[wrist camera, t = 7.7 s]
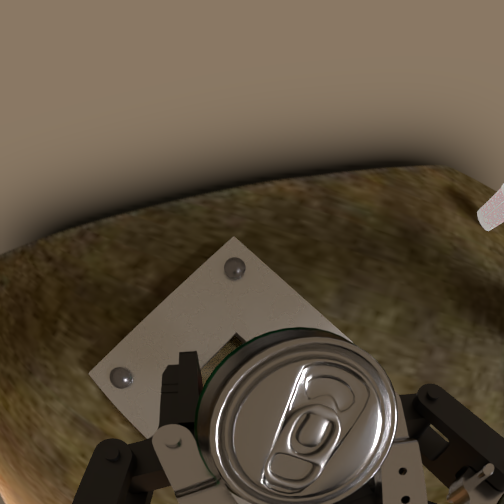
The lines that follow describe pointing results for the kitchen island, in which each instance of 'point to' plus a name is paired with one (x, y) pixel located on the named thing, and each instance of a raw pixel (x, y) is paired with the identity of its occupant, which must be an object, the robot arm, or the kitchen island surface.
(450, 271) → the kitchen island surface
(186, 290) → the socket plate
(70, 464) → the kitchen island surface
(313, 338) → the soda can
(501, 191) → the beverage cup
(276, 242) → the kitchen island surface
